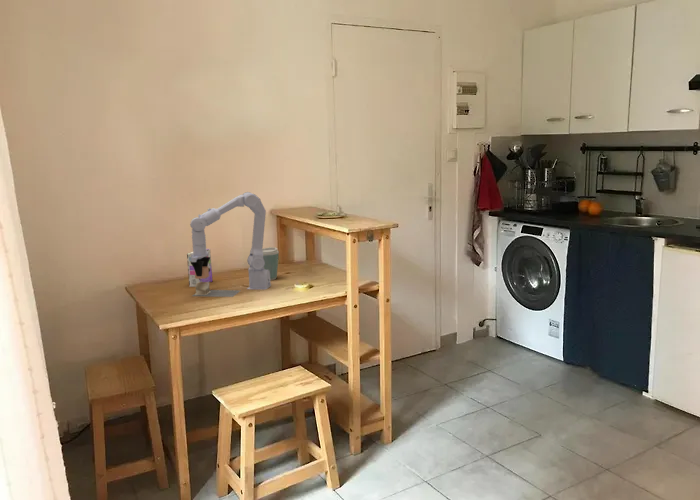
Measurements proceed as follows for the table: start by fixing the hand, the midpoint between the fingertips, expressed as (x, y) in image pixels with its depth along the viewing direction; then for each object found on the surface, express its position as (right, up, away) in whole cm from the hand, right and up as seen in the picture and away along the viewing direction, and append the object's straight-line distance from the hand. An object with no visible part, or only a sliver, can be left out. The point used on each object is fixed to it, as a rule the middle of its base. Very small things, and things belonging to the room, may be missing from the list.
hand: (201, 274), depth 261 cm
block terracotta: (0, -1, 0) cm, 1 cm away
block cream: (0, -8, +2) cm, 8 cm away
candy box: (-5, -6, +21) cm, 22 cm away
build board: (+7, -9, +1) cm, 11 cm away
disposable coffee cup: (+26, -3, +28) cm, 39 cm away
